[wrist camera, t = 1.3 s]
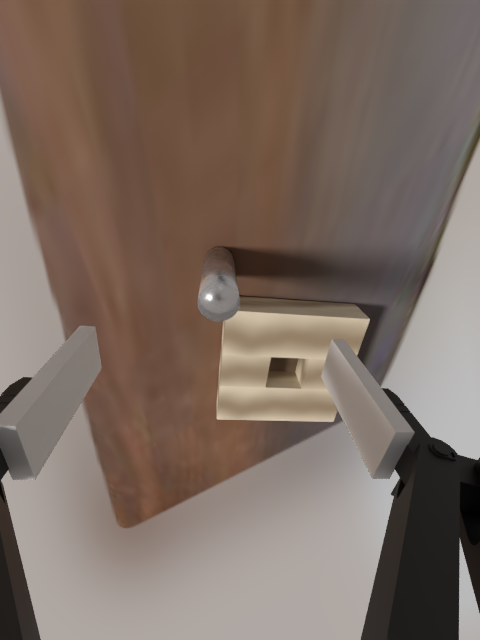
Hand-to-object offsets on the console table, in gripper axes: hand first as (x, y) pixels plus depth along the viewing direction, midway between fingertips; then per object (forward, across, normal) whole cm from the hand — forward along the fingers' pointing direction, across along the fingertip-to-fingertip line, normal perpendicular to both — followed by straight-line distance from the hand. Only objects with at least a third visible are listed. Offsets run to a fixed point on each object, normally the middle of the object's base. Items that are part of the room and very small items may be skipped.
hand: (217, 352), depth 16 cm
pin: (+17, 0, 0) cm, 17 cm away
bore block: (+17, +9, -12) cm, 23 cm away
